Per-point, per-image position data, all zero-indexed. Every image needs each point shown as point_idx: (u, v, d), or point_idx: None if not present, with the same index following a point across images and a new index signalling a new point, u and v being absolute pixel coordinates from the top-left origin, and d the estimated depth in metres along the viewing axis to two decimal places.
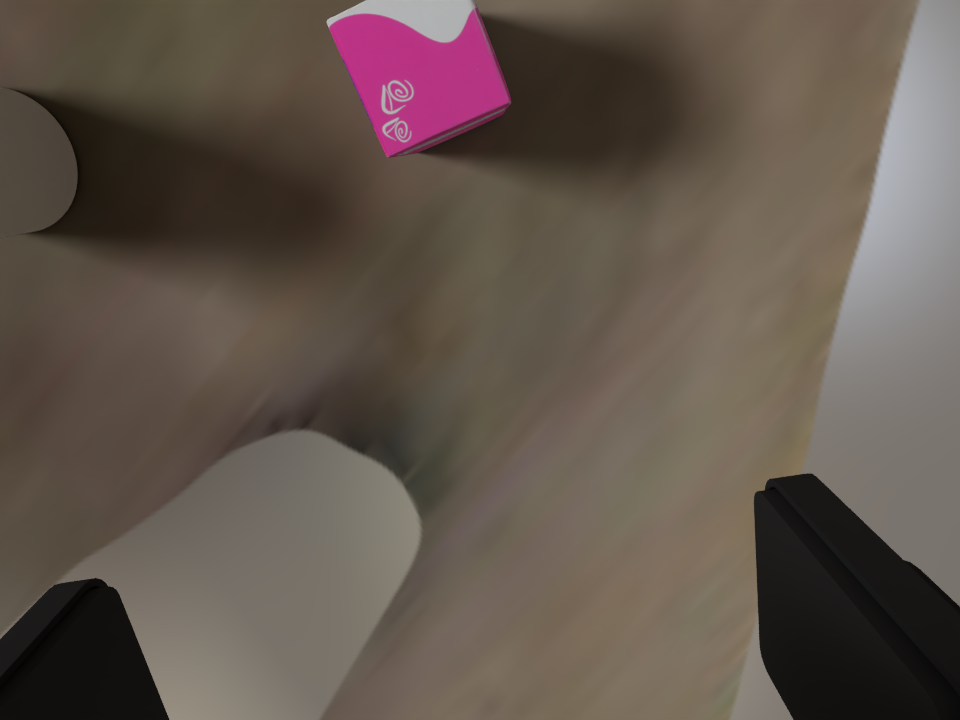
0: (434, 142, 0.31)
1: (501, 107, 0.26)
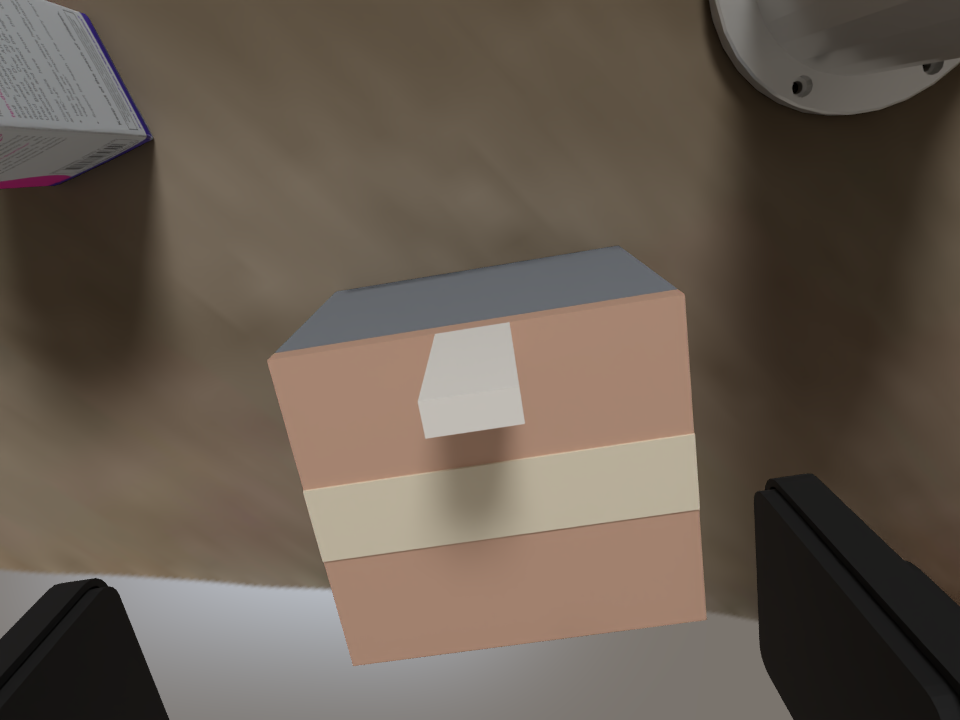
0: None
1: None
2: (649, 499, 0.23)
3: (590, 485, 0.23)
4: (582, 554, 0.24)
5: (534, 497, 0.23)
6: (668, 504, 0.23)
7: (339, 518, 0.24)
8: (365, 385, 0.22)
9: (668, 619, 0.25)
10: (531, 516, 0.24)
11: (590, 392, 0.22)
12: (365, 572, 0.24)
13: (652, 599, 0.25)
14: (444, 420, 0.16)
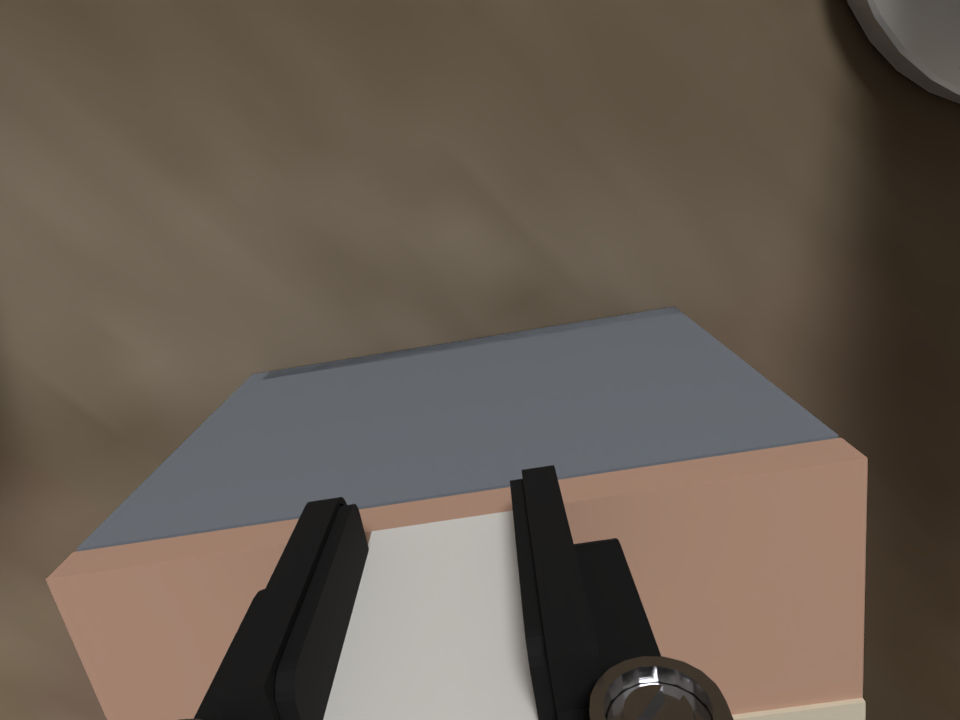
0: None
1: None
2: None
3: None
4: None
5: None
6: None
7: None
8: (241, 621, 0.11)
9: None
10: None
11: (672, 631, 0.12)
12: None
13: None
14: None
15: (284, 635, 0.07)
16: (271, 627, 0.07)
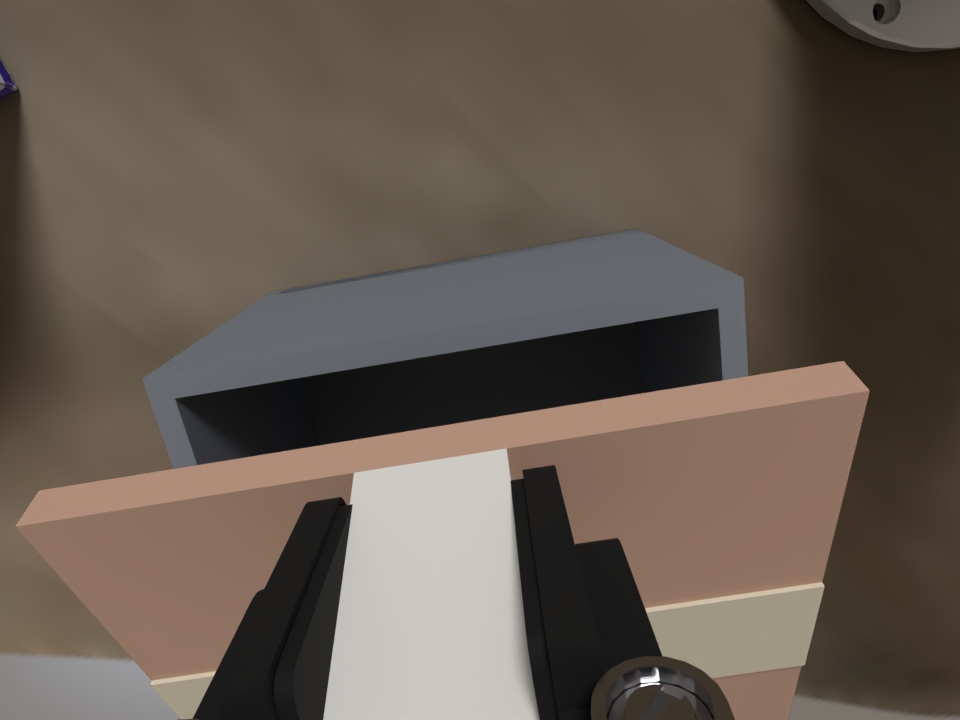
0: None
1: None
2: (728, 657, 0.14)
3: None
4: None
5: None
6: (757, 663, 0.15)
7: None
8: (227, 551, 0.11)
9: None
10: None
11: (653, 541, 0.12)
12: None
13: None
14: None
15: (282, 635, 0.07)
16: (270, 627, 0.07)
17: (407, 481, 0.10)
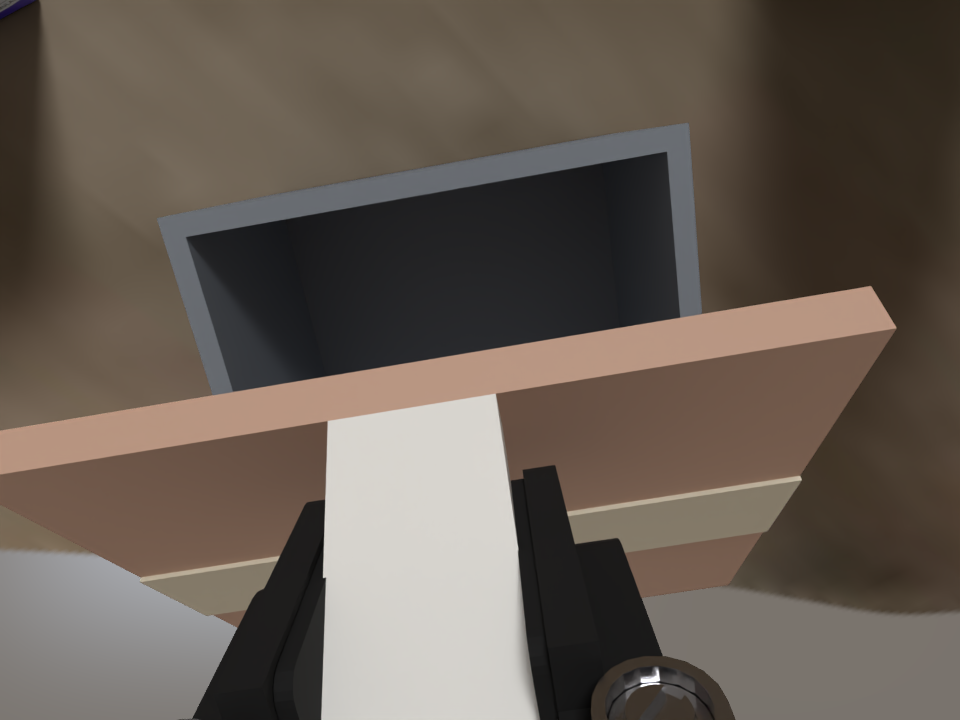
0: None
1: None
2: (698, 529, 0.15)
3: (613, 528, 0.15)
4: None
5: None
6: (724, 532, 0.15)
7: (215, 587, 0.15)
8: (198, 487, 0.11)
9: (681, 589, 0.20)
10: None
11: (642, 456, 0.12)
12: None
13: (667, 582, 0.19)
14: None
15: (283, 635, 0.07)
16: (270, 627, 0.07)
17: (387, 434, 0.09)
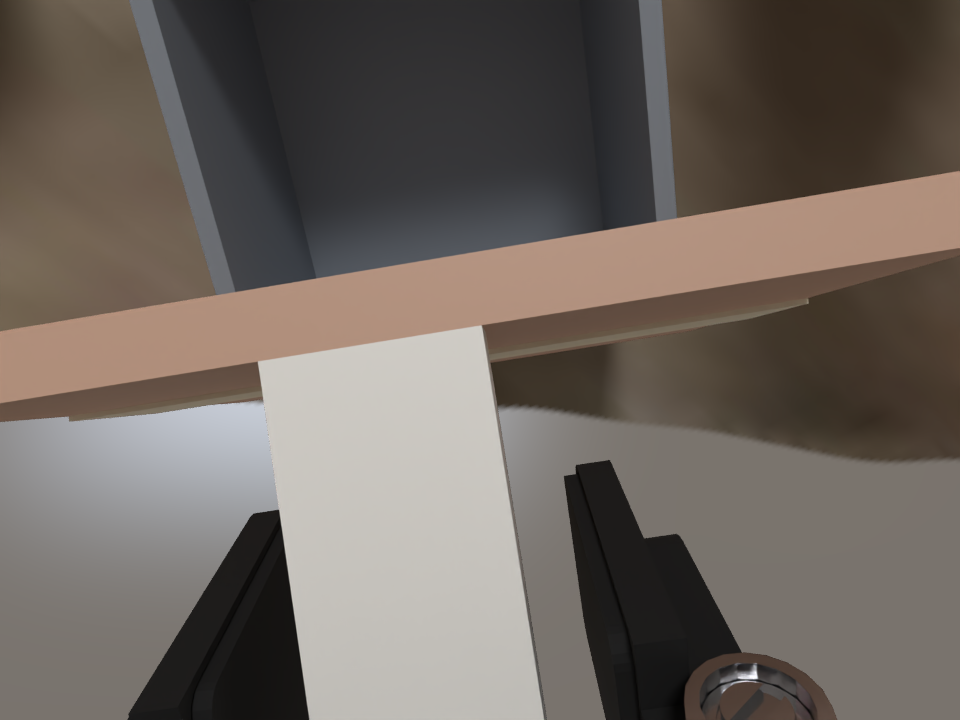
0: None
1: None
2: None
3: None
4: None
5: (494, 357, 0.14)
6: (704, 325, 0.14)
7: None
8: (105, 395, 0.09)
9: (642, 337, 0.20)
10: None
11: (644, 316, 0.10)
12: None
13: (631, 339, 0.19)
14: None
15: (207, 653, 0.07)
16: (196, 644, 0.07)
17: (342, 382, 0.07)
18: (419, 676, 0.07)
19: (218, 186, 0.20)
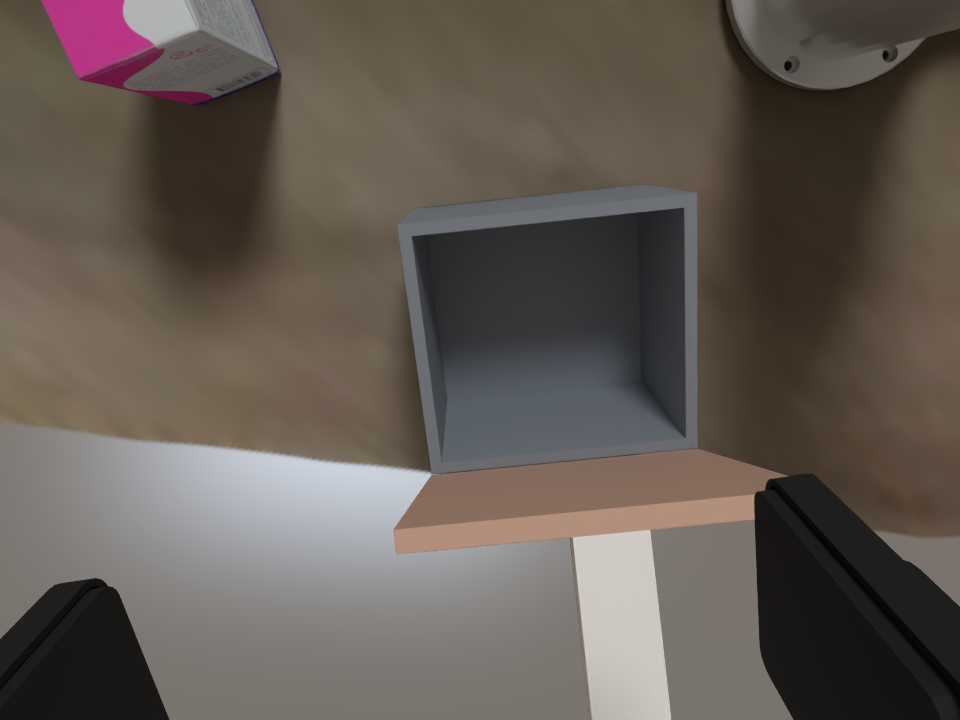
0: None
1: (74, 69, 0.27)
2: None
3: None
4: None
5: None
6: None
7: None
8: None
9: None
10: None
11: None
12: None
13: None
14: None
15: None
16: None
17: (601, 546, 0.21)
18: (624, 647, 0.21)
19: (430, 364, 0.33)
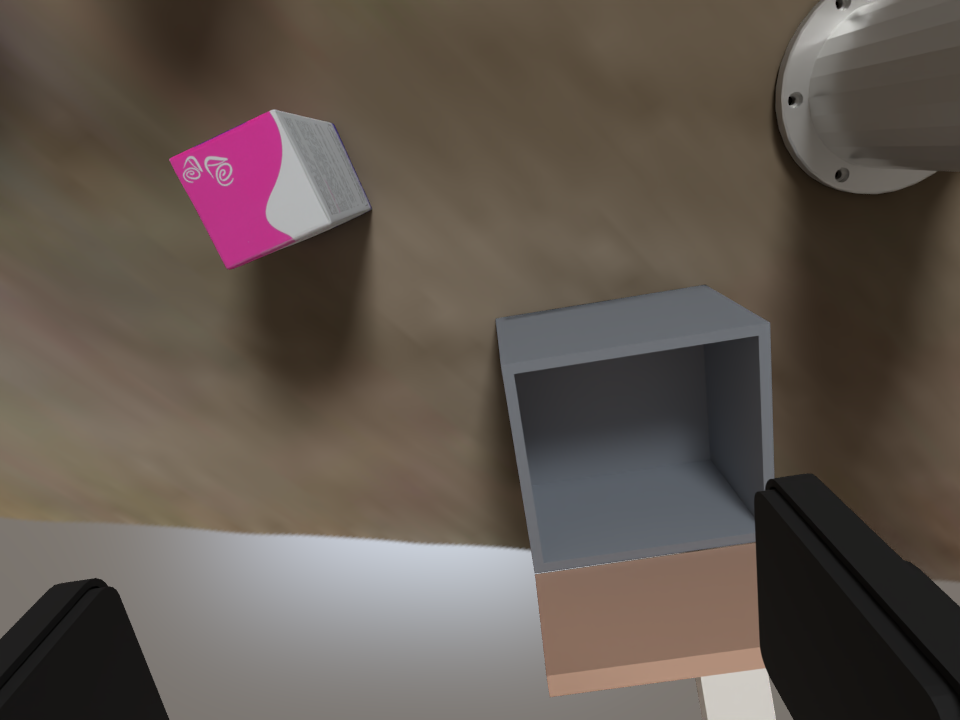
0: None
1: (223, 261, 0.31)
2: None
3: None
4: None
5: None
6: None
7: None
8: None
9: None
10: None
11: None
12: None
13: None
14: None
15: None
16: None
17: (726, 683, 0.24)
18: None
19: None
